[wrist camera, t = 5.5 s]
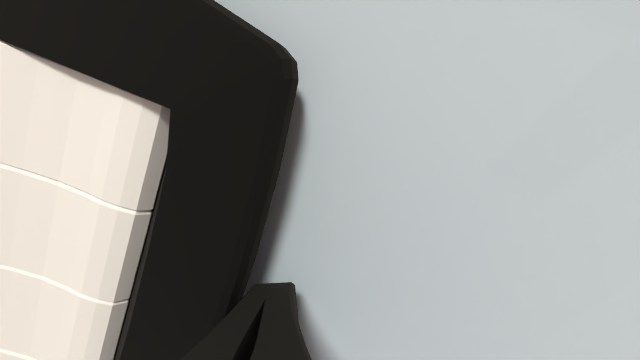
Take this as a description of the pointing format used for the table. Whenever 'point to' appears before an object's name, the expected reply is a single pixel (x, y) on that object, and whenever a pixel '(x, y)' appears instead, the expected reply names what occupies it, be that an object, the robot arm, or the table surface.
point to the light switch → (132, 172)
